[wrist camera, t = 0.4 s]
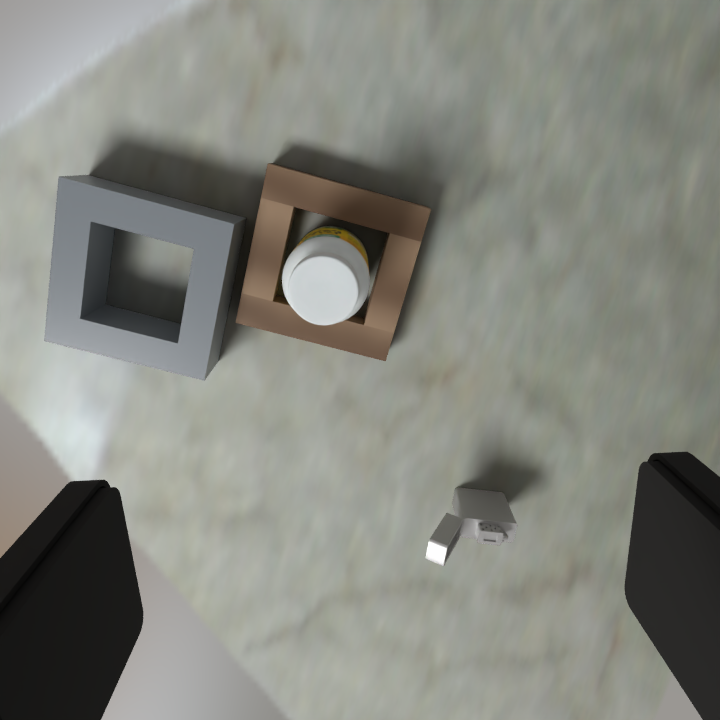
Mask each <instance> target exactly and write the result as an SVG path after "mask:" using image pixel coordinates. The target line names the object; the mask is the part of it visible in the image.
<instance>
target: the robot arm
mask: <svg viewBox="0 0 720 720" xmlns="http://www.w3.org/2000/svg"><path fill="white" fill-rule="evenodd" d="M625 595H626V599H627V602H628V605H629V607H630V609H631V610H632V612H633V613H634V615H635V616H636V618H637V619H638V621H639V623H640V624H641V626H642V627H643V629H644V630H645V632H646V633H647V635H648V636H649V638H650V639H651V641H652V642H653V644H654V646H655V647H656V649H657V650H658V652H659V653H660V655H661V656H662V658H663V659H664V661H665V662H666V664H667V665H668V667H669V669H670V670H671V672H672V673H673V675H674V676H675V678H676V679H677V681H678V682H679V684H680V685H681V687H682V688H683V690H684V692H685V693H686V694H687V696H688V698H689V699H690V701H691V702H692V704H693V705H694V707H695V708H696V710H697V711H698V713H699V714H700V716H701V718H702V719H703V720H720V477H719V476H718V475H717V474H715V473H714V472H713V471H712V470H710V469H709V468H708V467H707V466H706V465H704V464H703V463H702V462H701V461H699V460H698V459H697V458H696V457H694V456H693V455H692V454H690V453H688V452H671V453H654V454H652V455H651V456H650V458H649V459H648V462H643V463H641V465H640V468H639V473H638V481H637V489H636V497H635V505H634V513H633V522H632V530H631V538H630V546H629V554H628V562H627V570H626V579H625ZM142 624H143V607H142V602H141V597H140V593H139V587H138V582H137V577H136V572H135V567H134V561H133V556H132V551H131V546H130V541H129V536H128V531H127V526H126V521H125V516H124V511H123V506H122V500H121V496H120V492H119V490H118V489H117V488H116V487H112V488H110V485H109V484H108V482H107V481H105V480H89V481H72V482H70V483H68V484H67V485H66V486H65V487H64V488H63V489H62V491H61V492H60V493H59V494H58V495H57V496H56V497H55V498H54V500H53V501H52V502H51V503H50V504H49V505H48V506H47V507H46V508H45V510H43V512H42V513H41V514H40V515H39V516H38V517H37V518H36V520H34V522H33V523H32V524H31V525H30V526H29V527H28V528H27V529H26V530H25V532H24V533H23V534H22V535H21V536H20V537H19V538H18V539H17V540H16V541H15V543H14V544H13V545H12V546H11V547H10V548H9V549H8V551H6V552H5V554H4V555H3V556H2V557H1V558H0V720H101V718H102V716H103V714H104V712H105V709H106V707H107V705H108V703H109V701H110V698H111V696H112V694H113V692H114V689H115V687H116V685H117V683H118V680H119V678H120V676H121V674H122V671H123V670H124V667H125V665H126V663H127V661H128V658H129V656H130V654H131V652H132V650H133V647H134V645H135V643H136V641H137V639H138V636H139V634H140V632H141V628H142Z"/></svg>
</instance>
